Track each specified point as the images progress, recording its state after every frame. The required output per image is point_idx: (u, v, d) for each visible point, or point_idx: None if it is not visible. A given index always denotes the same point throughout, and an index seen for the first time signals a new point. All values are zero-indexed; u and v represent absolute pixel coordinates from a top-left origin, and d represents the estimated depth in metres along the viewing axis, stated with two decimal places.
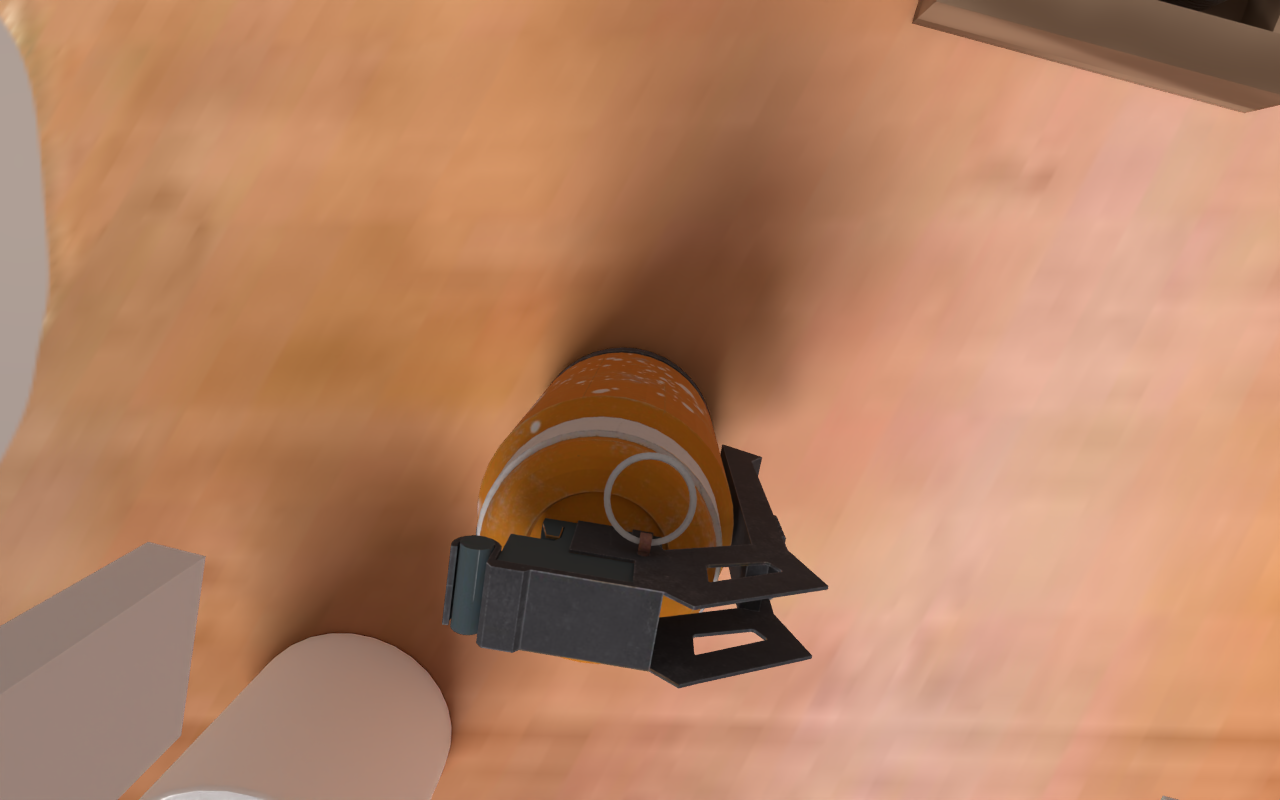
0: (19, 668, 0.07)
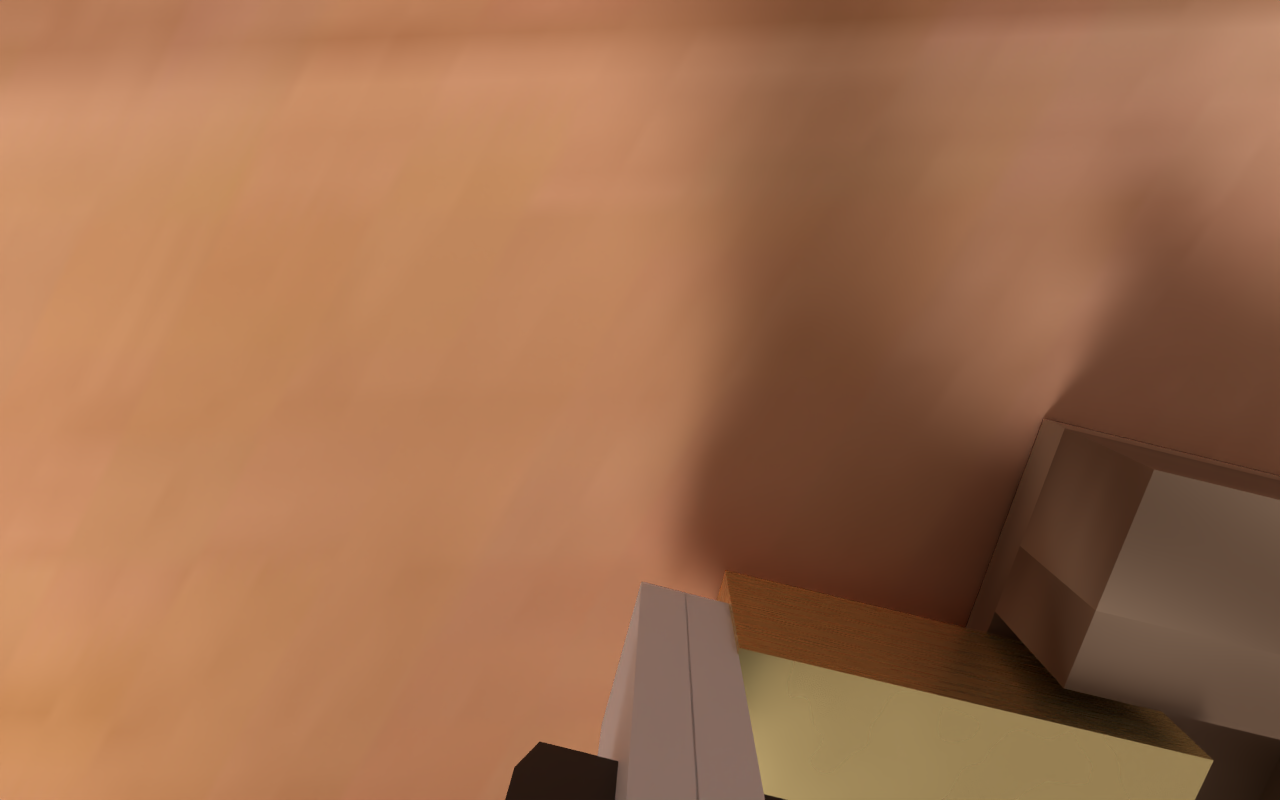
0: (680, 685, 0.09)
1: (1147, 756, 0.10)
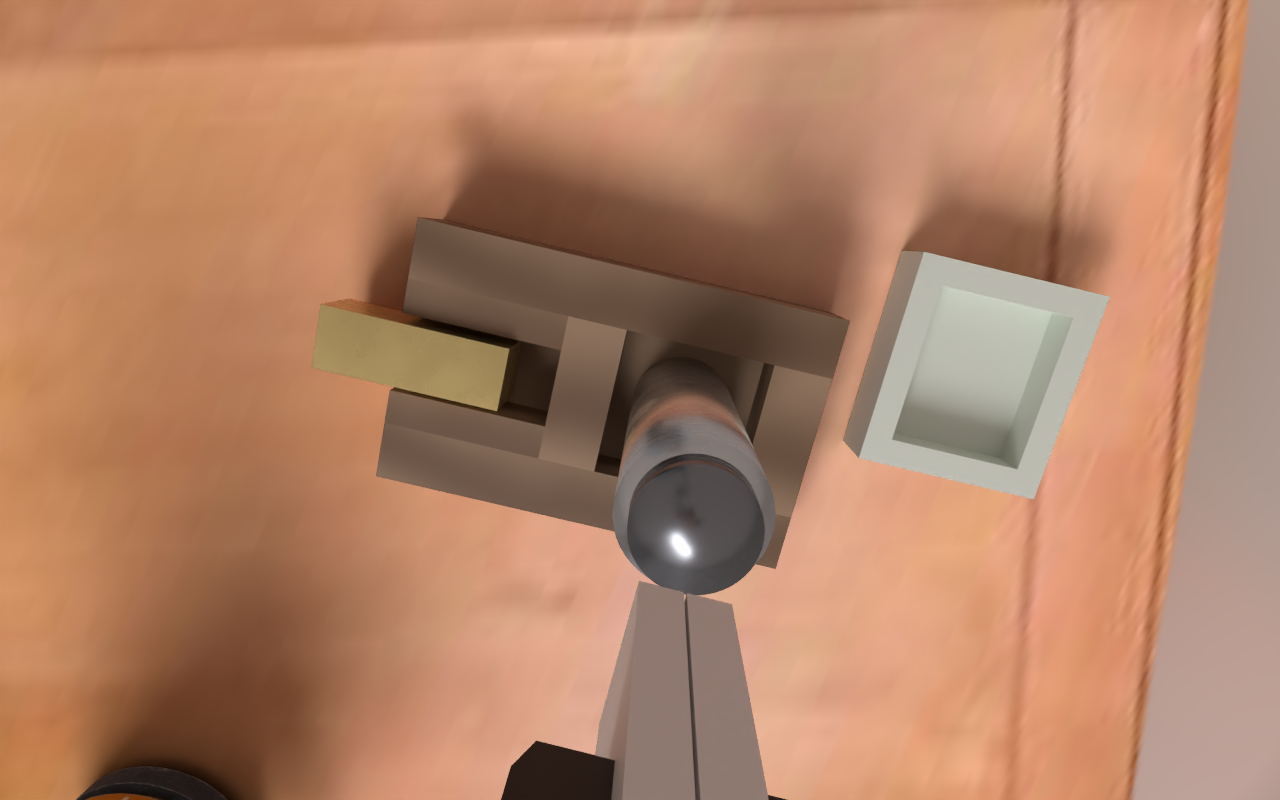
0: (677, 684, 0.09)
1: (483, 348, 0.26)
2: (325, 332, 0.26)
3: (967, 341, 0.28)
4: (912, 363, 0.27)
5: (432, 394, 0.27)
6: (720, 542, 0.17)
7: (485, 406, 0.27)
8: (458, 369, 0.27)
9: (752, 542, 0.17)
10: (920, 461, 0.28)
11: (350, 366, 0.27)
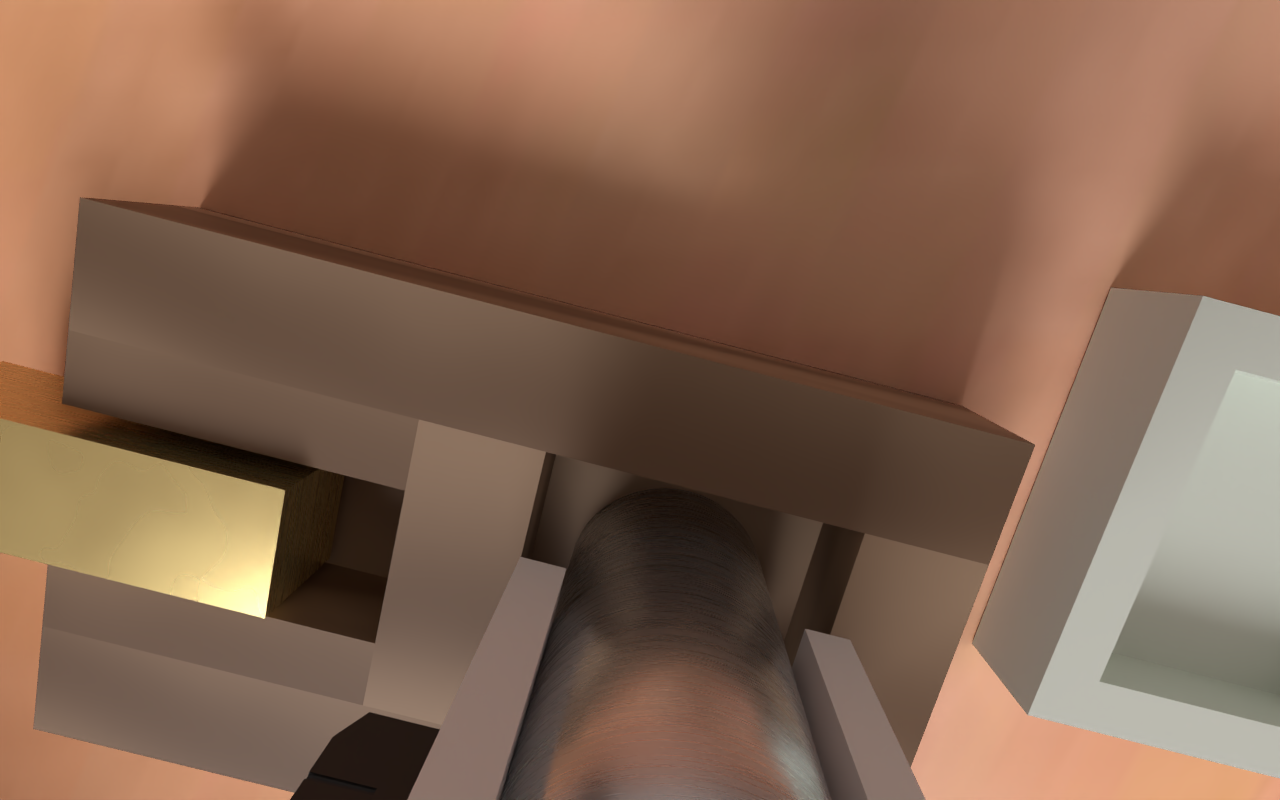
0: (527, 656, 0.09)
1: (229, 486, 0.12)
2: None
3: (1246, 474, 0.14)
4: (1155, 530, 0.13)
5: (124, 580, 0.12)
6: None
7: (240, 607, 0.12)
8: (177, 530, 0.12)
9: None
10: (1155, 725, 0.13)
11: None
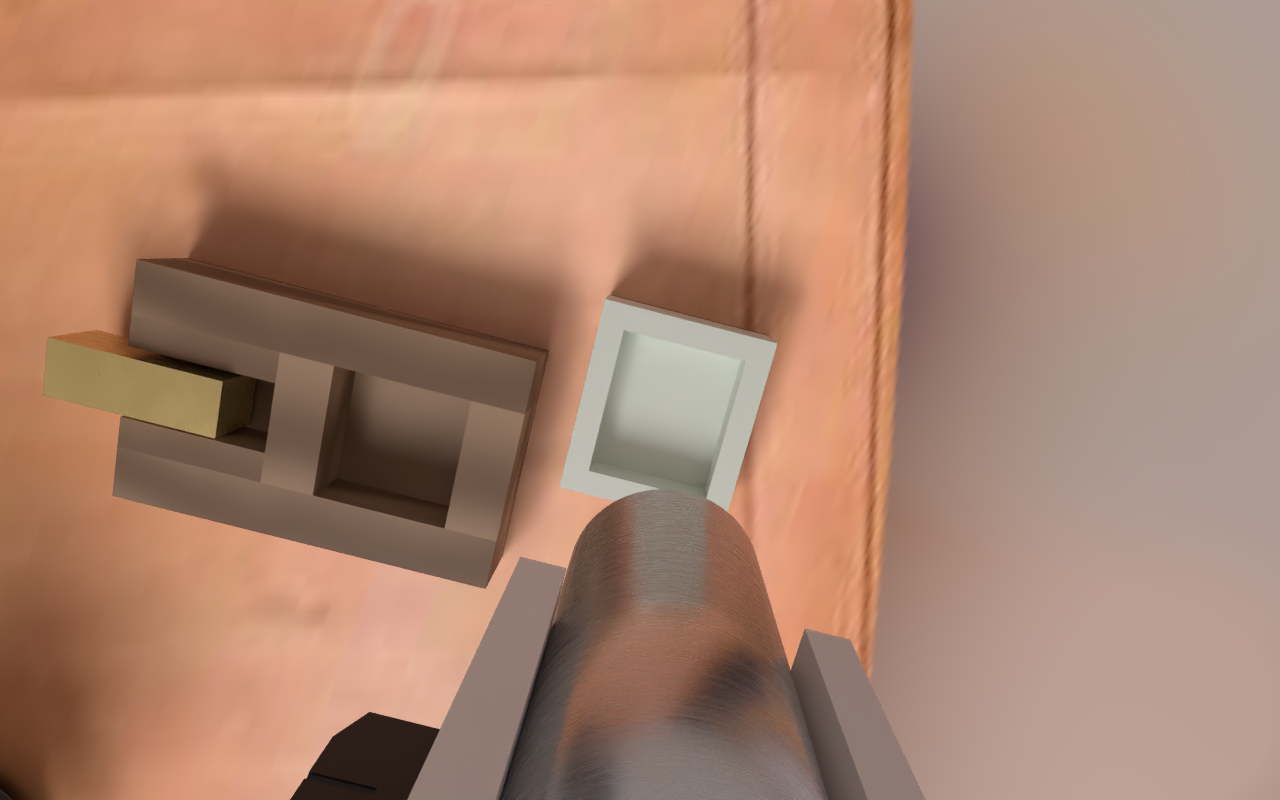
0: (526, 656, 0.09)
1: (199, 380, 0.29)
2: (53, 363, 0.29)
3: (666, 380, 0.31)
4: (602, 401, 0.29)
5: (154, 421, 0.29)
6: None
7: (204, 433, 0.29)
8: (177, 399, 0.29)
9: None
10: (616, 491, 0.30)
11: (78, 394, 0.29)
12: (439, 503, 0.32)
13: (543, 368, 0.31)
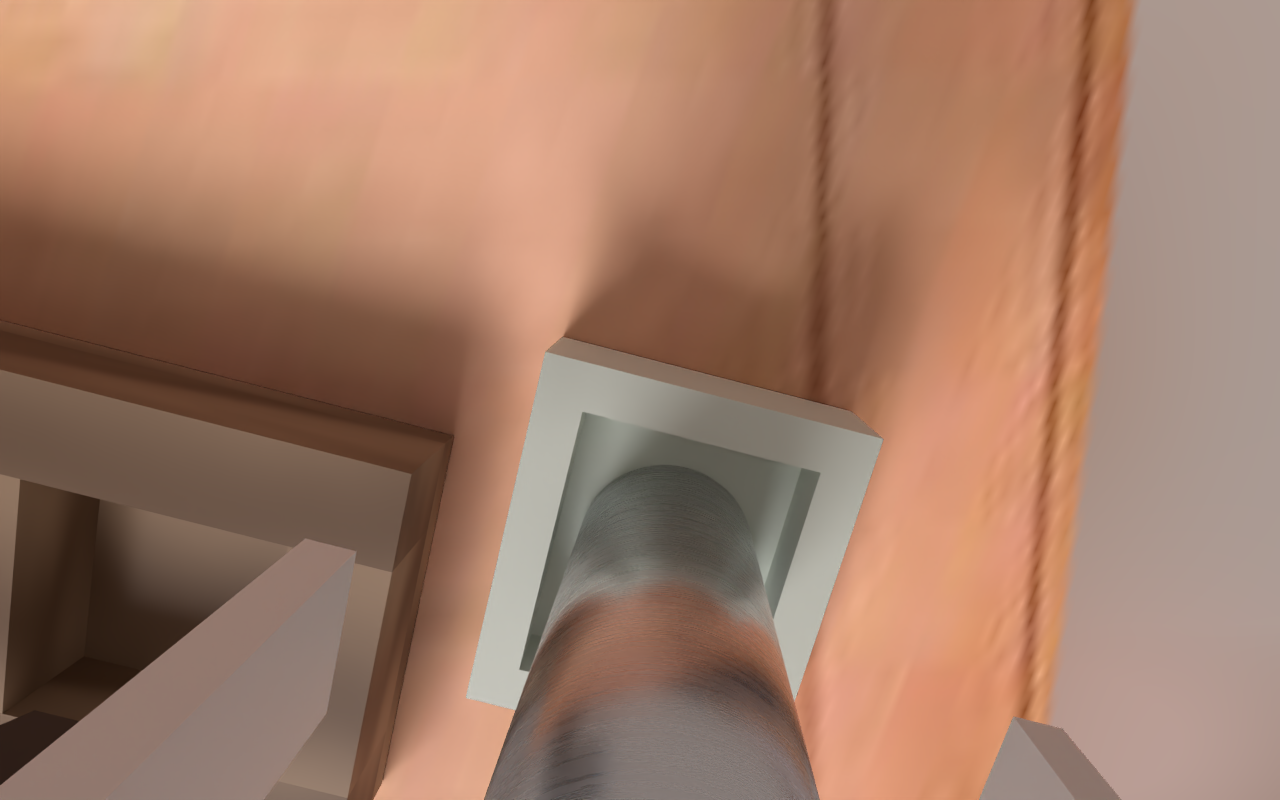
0: (244, 647, 0.08)
1: None
2: None
3: None
4: (543, 543, 0.15)
5: None
6: None
7: None
8: None
9: None
10: None
11: None
12: None
13: (443, 468, 0.17)
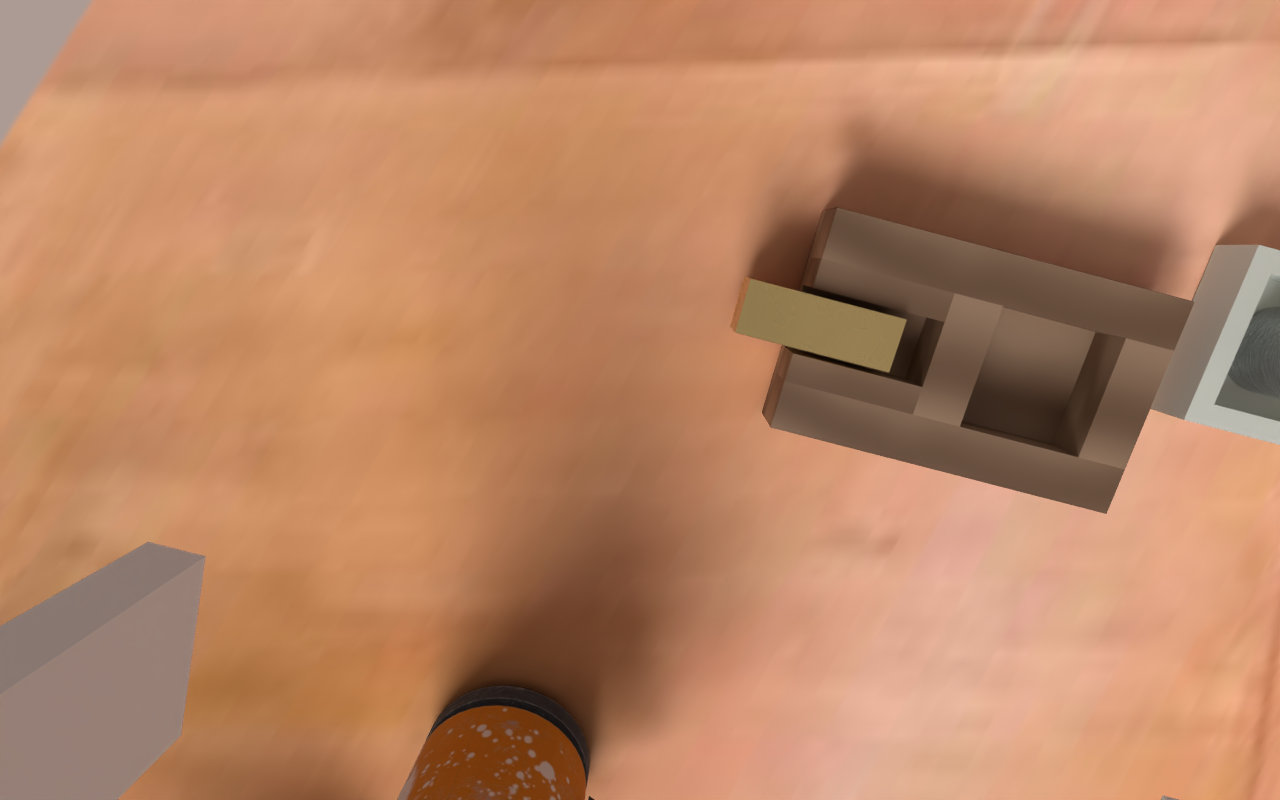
0: (18, 668, 0.07)
1: (885, 318, 0.31)
2: (751, 302, 0.31)
3: None
4: (1238, 339, 0.32)
5: (835, 357, 0.32)
6: None
7: (879, 368, 0.32)
8: (861, 336, 0.32)
9: None
10: (1236, 423, 0.33)
11: (768, 332, 0.32)
12: (1033, 438, 0.35)
13: None
